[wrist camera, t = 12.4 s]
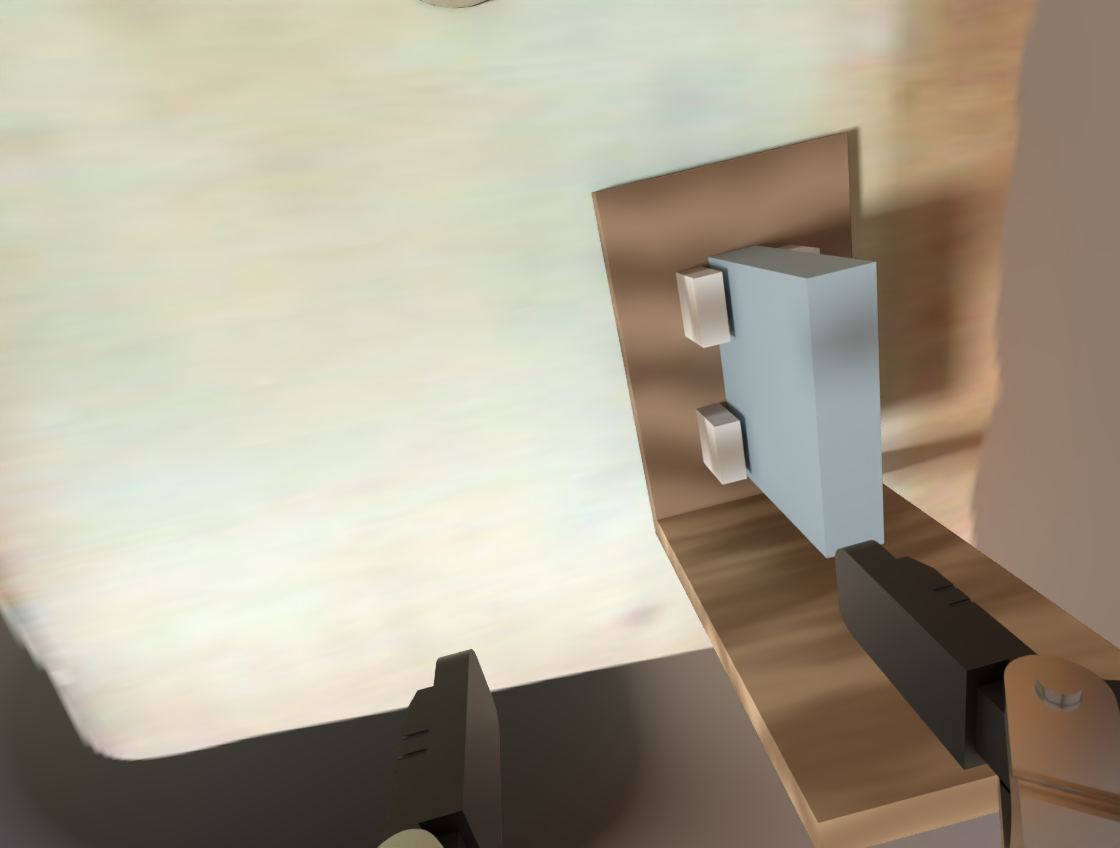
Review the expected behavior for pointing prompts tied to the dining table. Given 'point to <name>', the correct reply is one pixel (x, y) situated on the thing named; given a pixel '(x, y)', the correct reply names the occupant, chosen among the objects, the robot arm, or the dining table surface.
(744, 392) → the door
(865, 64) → the dining table surface
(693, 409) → the hinge base
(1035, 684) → the robot arm
